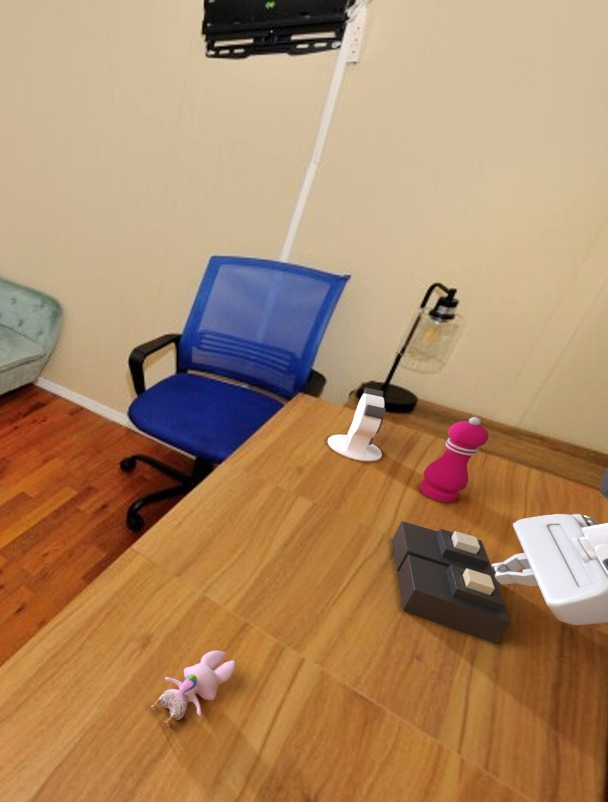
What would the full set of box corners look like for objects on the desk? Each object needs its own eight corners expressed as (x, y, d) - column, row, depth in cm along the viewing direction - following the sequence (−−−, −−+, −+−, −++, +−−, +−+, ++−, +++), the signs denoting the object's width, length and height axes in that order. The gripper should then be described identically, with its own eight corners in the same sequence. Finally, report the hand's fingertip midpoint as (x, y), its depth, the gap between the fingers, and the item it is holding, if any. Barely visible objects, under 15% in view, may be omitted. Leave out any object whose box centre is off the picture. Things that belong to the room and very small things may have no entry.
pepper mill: (419, 478, 118) (455, 405, 108) (460, 493, 113) (502, 417, 104) (414, 493, 113) (451, 417, 104) (456, 508, 109) (499, 431, 99)
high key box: (483, 603, 88) (502, 575, 85) (496, 644, 81) (517, 615, 78) (397, 574, 94) (411, 547, 90) (402, 610, 87) (418, 582, 84)
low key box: (470, 564, 95) (487, 537, 92) (481, 599, 89) (500, 571, 85) (391, 540, 101) (405, 513, 98) (396, 570, 94) (411, 543, 91)
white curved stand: (383, 468, 121) (407, 415, 114) (327, 453, 127) (346, 402, 120) (380, 443, 130) (402, 393, 123) (328, 431, 136) (346, 382, 129)
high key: (485, 583, 84) (490, 575, 83) (490, 596, 82) (495, 588, 81) (461, 575, 85) (466, 568, 84) (465, 588, 83) (470, 580, 82)
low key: (472, 544, 91) (476, 537, 90) (475, 555, 89) (480, 548, 88) (450, 537, 93) (454, 530, 92) (453, 548, 90) (458, 541, 90)
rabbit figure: (176, 743, 70) (247, 680, 76) (179, 723, 67) (252, 658, 72) (142, 703, 75) (211, 646, 80) (143, 683, 72) (215, 625, 77)
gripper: (578, 496, 80) (470, 519, 89) (636, 587, 65) (498, 604, 74) (603, 528, 80) (492, 548, 89) (667, 626, 65) (525, 638, 74)
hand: (495, 574), depth 82 cm, fingers closed
